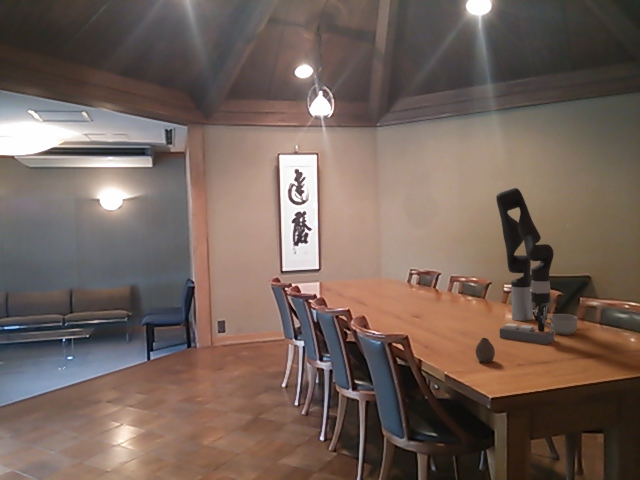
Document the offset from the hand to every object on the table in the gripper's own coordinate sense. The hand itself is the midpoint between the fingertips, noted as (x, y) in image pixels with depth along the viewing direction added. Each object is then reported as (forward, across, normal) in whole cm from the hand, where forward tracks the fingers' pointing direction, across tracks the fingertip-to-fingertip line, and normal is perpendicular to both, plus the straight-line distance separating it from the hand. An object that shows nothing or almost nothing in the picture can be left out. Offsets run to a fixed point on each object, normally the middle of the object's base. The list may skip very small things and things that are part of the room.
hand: (541, 331), depth 207 cm
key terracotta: (+3, 0, 0) cm, 3 cm away
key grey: (+2, 0, -6) cm, 7 cm away
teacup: (+5, -18, +2) cm, 19 cm away
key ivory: (+1, 0, -13) cm, 13 cm away
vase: (+5, +40, -6) cm, 41 cm away
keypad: (+4, 0, -6) cm, 8 cm away
